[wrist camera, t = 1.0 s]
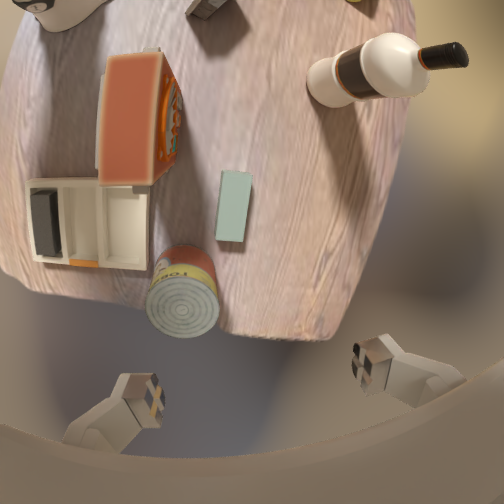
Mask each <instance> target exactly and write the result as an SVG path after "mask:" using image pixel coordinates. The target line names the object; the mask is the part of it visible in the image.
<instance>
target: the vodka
mask: <svg viewBox="0 0 504 504" xmlns="http://www.w3.org/2000/svg"><path fill="white" fill-rule="evenodd" d="M468 62H469V58H468V54H467V52H466V50H465V49H464V47H463V46H462V45H461V44H459V43H457V42H453V43H447V44H443V45H437V46H431V47H427V48H422V49H421V48H420V47H419V46H418V45H417V44H416V43H415V42H414V41H413V40H411V39H410V38H408V37H406V36H404V35H402V34H398V33H384V34H382V35H379V36H377V37H376V38H372V39H370V40H368V41H367V42H366V43H364V44H362V45H359V46H357V47H355V48H352V49H350V50H346V51H343V52H340V53H339V54H338V55H337V56H335V57H332V58H325V59H322V60H320V61H317V62H316V63H314V64H313V65H312V66H311V67H310V69H309V70H308V73H307V86H308V89H309V91H310V93H311V95H312V96H313V97H314V98H315V99H316V100H317V101H318V102H319V103H321V104H322V105H324V106H327V107H331V108H339V107H343V106H346V105H348V104H350V103H352V102H355V101H358V102H365V101H368V100H371V99H378V98H388V97H390V98H400V97H405V98H410V97H415V96H417V95H418V94H420V93H422V92H423V91H424V90H425V89H426V87H427V85H428V83H429V80H430V70H438V69H448V68H460V67H461V68H462V67H464V68H465V67H467V66H468Z"/></svg>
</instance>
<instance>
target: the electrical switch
mask: <svg viewBox="0 0 504 504" xmlns="http://www.w3.org/2000/svg"><path fill="white" fill-rule="evenodd" d="M226 1H227V0H194V1H193V2H192V3H191V5H190V6H189V8H188V9H187V11H186V12H185V14H186V15H188V16H189V15H190V14H191V13H193V14H194V15H196V16H198V17H200V18H202V19H203V20H206V19H207V18H208V17H209V16H210V15H211V14H213V13H214V12H215V11H216V10H217V8H219V7H220V6H221V5H222V4H223V3H224V2H226Z"/></svg>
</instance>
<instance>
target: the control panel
mask: <svg viewBox="0 0 504 504" xmlns="http://www.w3.org/2000/svg"><path fill="white" fill-rule="evenodd" d="M100 80H101V83H100V91H99V100H98V111H97V125H96V150H95V169H98V184H99V186H100V187H111V186H132V191H133V194H134V195H142V194H149V191H150V186H151V185H153V184H154V183H155V182H156V181H157V180H158V179H159V178H160V177H161V176H162V175H163V174H164V173H168V171H169V168H170V167H171V166H172V165H174V164H175V160H176V153H177V142H178V133H177V128H179V127H180V122H181V116H180V115H179V111H181V110H182V98H181V96H180V95H181V90H180V88H179V85H178V83H177V81H176V79H175V77H174V75H173V72H172V70H171V68H170V66H169V64H168V61H167V59H166V57H165V55H164V53H163V52H161V50H160V47H149V48H144V49H143V52H142V53H133V54H123V55H115V56H109V57H108V58H107V62H106V68H105V74H103V75H102V76H101V78H100Z"/></svg>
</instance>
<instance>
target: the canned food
mask: <svg viewBox="0 0 504 504" xmlns="http://www.w3.org/2000/svg"><path fill="white" fill-rule="evenodd" d="M145 311H146V315H147V317H148V319H149V321H150V322H151V324H152V325H153V326H154V327H155V328H156V329H157V330H159V331H160V332H162V333H164V334H166V335H168V336H171V337H175V338H183V339H186V338H194V337H198V336H200V335H202V334H204V333H206V332H208V331H209V330H210V329H211V328H212V327H213V326H214V325H215V324H216V322H217V320H218V317H219V313H220V305H219V301H218V294H217V286H216V278H215V267H214V263H213V261H212V259H211V258H210V256H209V255H208V254H207V253H206V252H205V251H203V250H202V249H200V248H198V247H196V246H193V245H188V244H180V245H175V246H172V247H170V248H168V249H167V250H165V251H164V252H163V253H162V254H161V255H160V256H159V258H158V260H157V262H156V266H155V271H154V274H153V277H152V281H151V284H150V288H149V291H148V294H147V297H146V300H145Z"/></svg>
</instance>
